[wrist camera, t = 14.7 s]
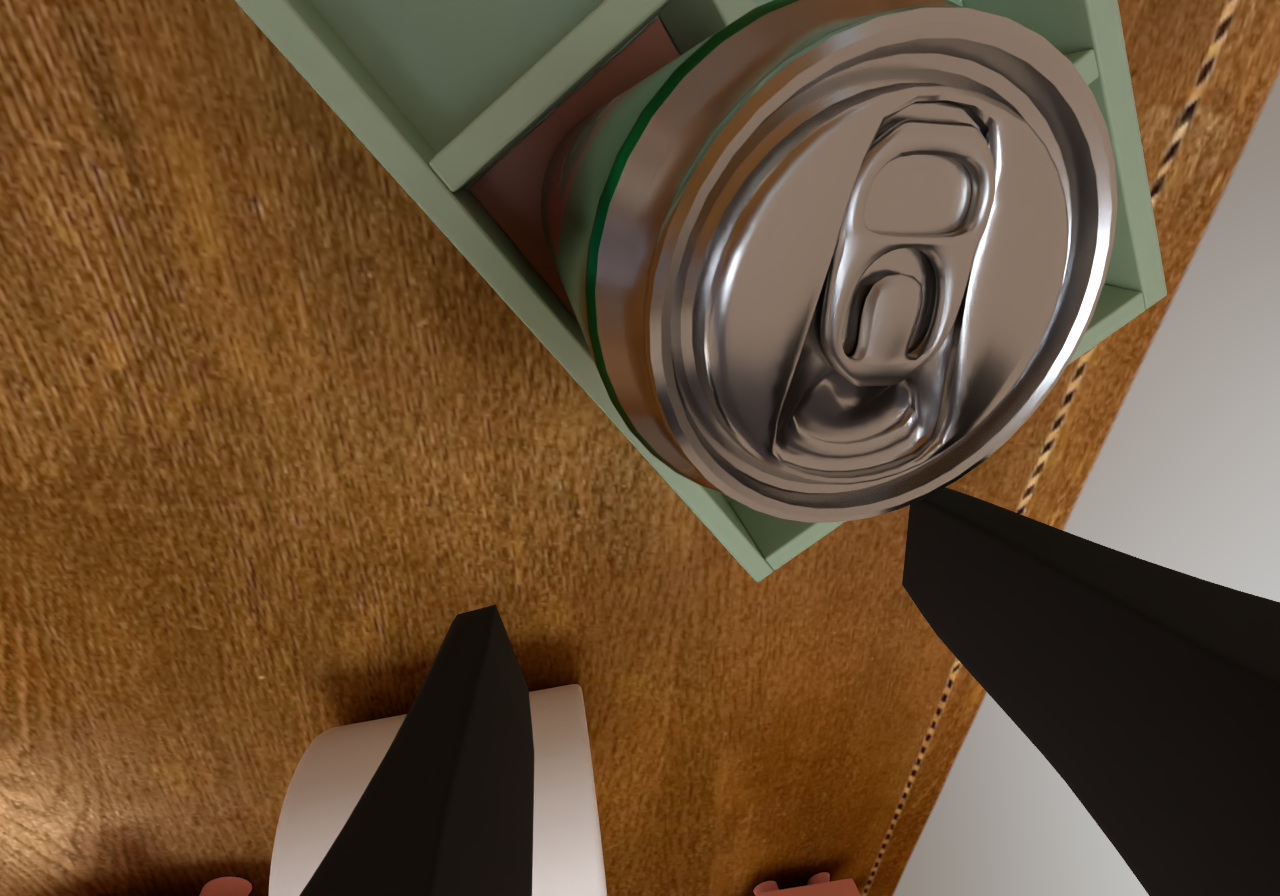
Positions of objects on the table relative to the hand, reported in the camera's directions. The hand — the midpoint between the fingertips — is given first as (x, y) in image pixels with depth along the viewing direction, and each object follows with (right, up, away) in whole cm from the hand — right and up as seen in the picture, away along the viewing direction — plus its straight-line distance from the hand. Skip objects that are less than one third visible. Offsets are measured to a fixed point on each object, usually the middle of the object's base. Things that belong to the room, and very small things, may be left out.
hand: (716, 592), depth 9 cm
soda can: (-2, +9, +6) cm, 11 cm away
